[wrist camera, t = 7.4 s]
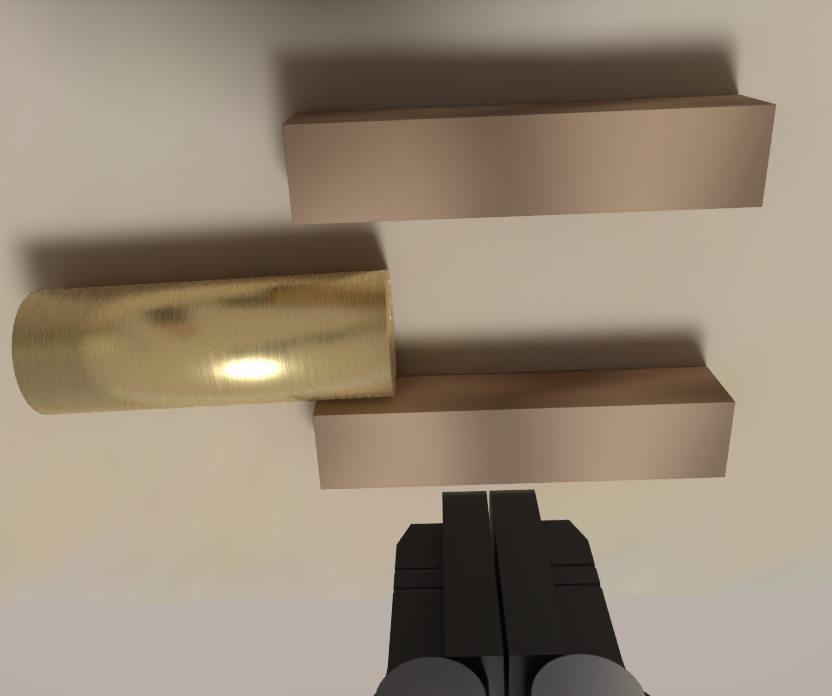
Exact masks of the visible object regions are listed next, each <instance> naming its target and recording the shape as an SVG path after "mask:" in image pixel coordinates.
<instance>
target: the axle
mask: <svg viewBox="0 0 832 696" xmlns="http://www.w3.org/2000/svg"><path fill="white" fill-rule="evenodd" d="M12 359H13V366H14V371H15V376H16V379H17V383H18V386H19V388H20V390H21V393H22V395H23V396H24V398H25V400H26V401H27V403H28V404H29V405H30V406H31V407H32V408H33V409H34V410H35V411H36V412H38V413H40V414H44V415H55V414H73V413H92V412H110V411H129V410H148V409H166V408H185V407H203V406H222V405H241V404H259V403H278V402H296V401H315V400H334V399H352V398H371V397H389V396H395V393H396V348H395V331H394V318H393V306H392V294H391V284H390V277H389V272H388V270H374V271H357V272H340V273H323V274H306V275H289V276H272V277H255V278H238V279H221V280H204V281H187V282H170V283H153V284H136V285H119V286H102V287H85V288H68V289H51V290H38V291H34V292H32V293H30V294H29V295H28V296H27V297H26V298H25V299H24V301H23V302H22V304H21V305H20V307H19V310H18V312H17V315H16V318H15V322H14V327H13V334H12Z"/></svg>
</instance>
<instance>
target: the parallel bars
mask: <svg viewBox="0 0 832 696" xmlns="http://www.w3.org/2000/svg"><path fill="white" fill-rule="evenodd" d="M775 108H776V104H772V103H768V102H765V101H761V100H758V99H754V98H750V97H747V96H743V95H739V94H737V95H713V96H689V97H665V98H642V99H618V100H594V101H570V102H546V103H522V104H498V105H474V106H450V107H426V108H402V109H378V110H354V111H330V112H306V113H296V114H295V115H294V116H292V117H291V118H290V119H289V120H288V121H286V122H285V123H284V124H283V125H282V128H283V137H284V147H285V156H286V165H287V175H288V184H289V194H290V203H291V212H292V222H293V225H300V224H326V223H352V222H378V221H404V220H430V219H456V218H482V217H508V216H534V215H560V214H586V213H612V212H638V211H664V210H690V209H716V208H742V207H762V203H763V196H764V188H765V181H766V174H767V166H768V159H769V152H770V145H771V137H772V130H773V123H774V116H775ZM734 406H735V401H734V400H733V399H732V398H731V396H730V395H729V394H728V392H727V391H726V390H725V389H724V387H723V386H722V385H721V384H720V382H719V381H718V380H717V379H716V377H715V376H714V375H713V374H712V372H711V371H710V370H709V369H708V367H707V366H703V367H673V368H644V369H614V370H585V371H555V372H526V373H496V374H466V375H437V376H407V377H396V393H395V396H389V397H371V398H352V399H334V400H317V403H316V407H315V411H314V414H313V420H314V429H315V439H316V448H317V457H318V467H319V476H320V486H321V489H352V488H384V487H417V486H450V485H482V484H515V483H548V482H581V481H613V480H646V479H679V478H712V477H725V472H726V465H727V457H728V450H729V443H730V436H731V428H732V421H733V414H734Z"/></svg>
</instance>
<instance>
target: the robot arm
mask: <svg viewBox="0 0 832 696" xmlns="http://www.w3.org/2000/svg"><path fill="white" fill-rule="evenodd" d="M442 499H443V523H437V524H411V525H410V526H409V528H408V529H407V531H406V532H405V534H404V535H403V536H402V538H401V539H400V541H399V542H398V544H397V547H396V561H395V575H394V593H393V603H392V618H391V630H390V631H391V632H390V644H389V658H388V668H387V674H386V677H385V678H384V679H383V680H382V682H381V683H380V685H379V687H378V689H377V692H376V694H375V695H374V696H650V695H648V694H647V693H646V692H644V691H643V689H642V687H641V685H640V684H639V683H638V681H637V680H636V679H635V677H634V676H633V675H631V674H630V672H628V671H627V670H626V669H625V666H624V664H623V661H622V658H621V654H620V651H619V647H618V644H617V640H616V637H615V633H614V630H613V626H612V623H611V619H610V616H609V612H608V609H607V605H606V602H605V598H604V595H603V591H602V588H601V587H600V581H599V577H598V574H597V570H596V568H595V563H594V560H593V556H592V553H591V549H590V546H589V542H588V540H587V539H586V537H585V536H584V535H583V534H582V533H581V532H580V531H579V530H578V529H577V528H576V527H575V526H574V525H573V524H572V523H571V522H570V521H569V520H546V521H541V518H540V514H539V509H538V504H537V499H536V494H535V491H534V490H499V491H490V493H489V512H488V502H487V493H486V491H469V492H442ZM489 519H490V521H489Z"/></svg>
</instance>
